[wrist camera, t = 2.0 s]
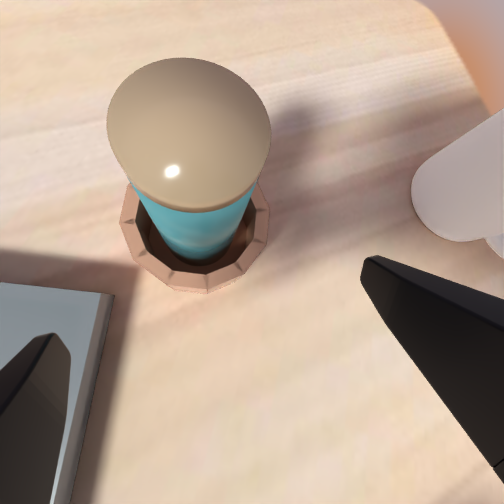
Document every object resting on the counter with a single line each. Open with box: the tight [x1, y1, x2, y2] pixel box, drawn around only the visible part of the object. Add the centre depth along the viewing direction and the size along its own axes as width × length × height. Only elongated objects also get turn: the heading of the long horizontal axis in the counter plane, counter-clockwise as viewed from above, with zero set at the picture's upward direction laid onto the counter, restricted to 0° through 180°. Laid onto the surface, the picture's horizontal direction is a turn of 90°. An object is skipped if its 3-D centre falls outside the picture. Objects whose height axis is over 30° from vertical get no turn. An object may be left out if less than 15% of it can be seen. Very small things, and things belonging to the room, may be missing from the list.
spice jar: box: [107, 58, 271, 266], centre depth 14 cm, size 5×5×12 cm
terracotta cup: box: [119, 183, 270, 294], centre depth 18 cm, size 8×8×4 cm
